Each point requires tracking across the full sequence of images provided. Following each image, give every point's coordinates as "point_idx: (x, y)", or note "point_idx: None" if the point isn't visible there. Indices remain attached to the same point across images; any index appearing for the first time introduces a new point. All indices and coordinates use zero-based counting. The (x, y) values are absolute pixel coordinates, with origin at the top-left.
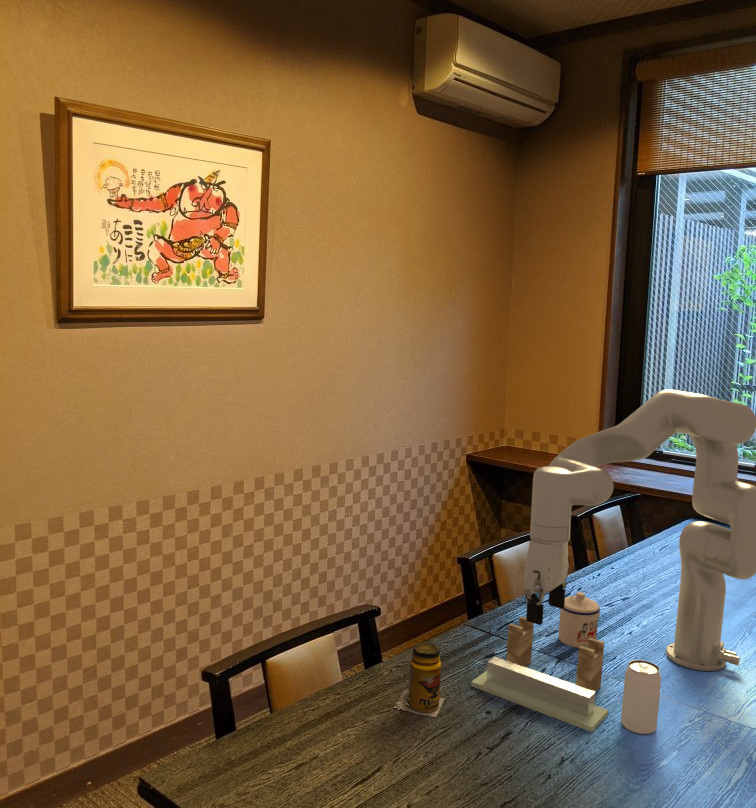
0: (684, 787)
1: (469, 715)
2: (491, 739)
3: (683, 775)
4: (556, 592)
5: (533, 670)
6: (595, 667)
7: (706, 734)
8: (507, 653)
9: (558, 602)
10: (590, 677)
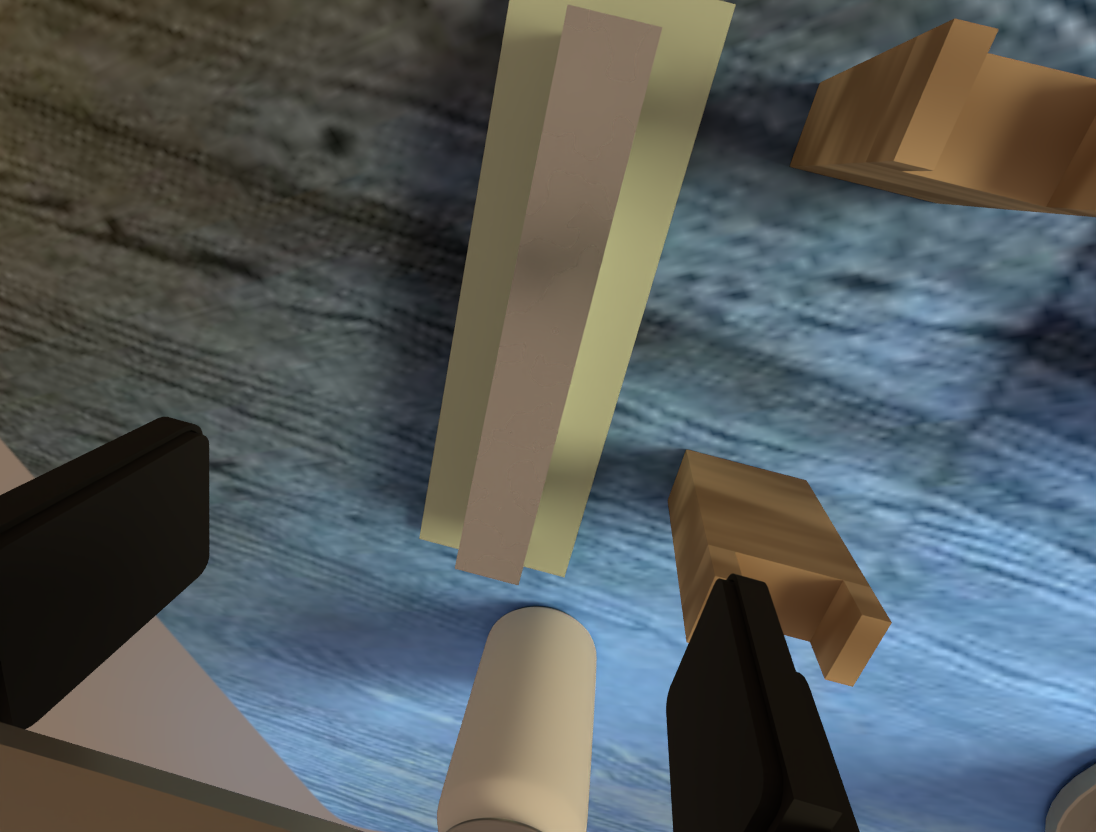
0: (306, 729)
1: (261, 66)
2: (165, 220)
3: (355, 730)
4: (712, 816)
5: (586, 308)
6: None
7: (590, 789)
8: (849, 74)
9: (687, 715)
10: (675, 548)
